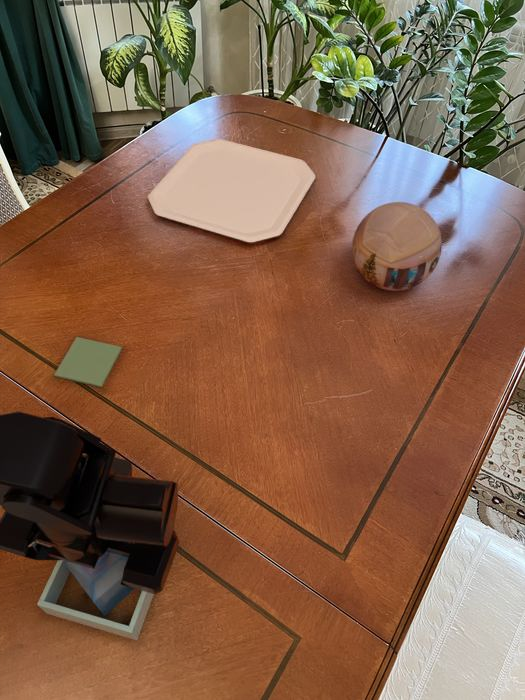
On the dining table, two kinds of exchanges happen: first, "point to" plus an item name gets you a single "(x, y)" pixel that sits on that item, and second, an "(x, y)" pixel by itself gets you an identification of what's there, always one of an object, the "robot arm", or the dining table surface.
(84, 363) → the mat
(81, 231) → the dining table surface
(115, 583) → the perfume bottle
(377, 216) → the ornament
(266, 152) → the plate
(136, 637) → the square frame
